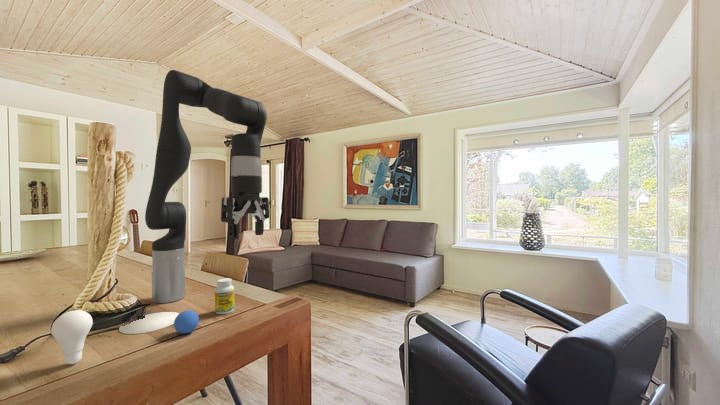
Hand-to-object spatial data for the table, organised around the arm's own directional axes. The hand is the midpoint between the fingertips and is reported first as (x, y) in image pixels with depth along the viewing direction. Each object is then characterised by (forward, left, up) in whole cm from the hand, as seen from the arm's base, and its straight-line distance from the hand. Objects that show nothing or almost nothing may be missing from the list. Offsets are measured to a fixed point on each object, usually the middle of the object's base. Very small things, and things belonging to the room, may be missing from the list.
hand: (247, 236), depth 76 cm
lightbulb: (-20, -28, -24) cm, 42 cm away
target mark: (-27, -9, -24) cm, 37 cm away
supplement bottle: (-15, +5, -24) cm, 29 cm away
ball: (-12, -9, -21) cm, 26 cm away
